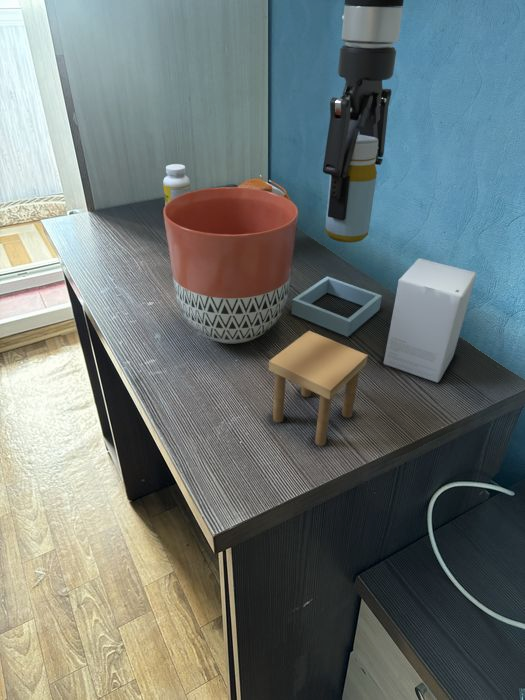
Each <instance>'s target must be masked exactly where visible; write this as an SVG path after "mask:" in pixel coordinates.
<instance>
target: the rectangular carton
mask: <svg viewBox="0 0 525 700" xmlns="http://www.w3.org/2000/svg"><path fill="white" fill-rule="evenodd" d="M477 274H478V273H477V272H476V271H472V270H468V269H464V268H460V267H456V266H452V265H448V264H444V263H439V262H435V261H432V260H428V259H424V258H420V257H419V258H417V259H416V260H415V262H414V263H413V264H412V265H411V266H410V267H409V268H408V270H406V271H405V273H404V274H402V276H401V277H400V278H399V279H398V280H397V288H396V292H395V293H396V294H395V300H394V304H393V310H392V316H391V320H390V326H389V332H388V337H387V342H386V346H385V347H386V348H385V354H384V358H383V365H385V366H388V367H391V368H394V369H397V370H400V371H403V372H406V373H408V374H411V375H414V376H417V377H420V378H423V379H426V380H428V381H432V382H434V383H439V382H440V381H441V379H442V377H443V375H444V374H445V372H446V370H447V369H448V367H449V365H450V363H451V361H452V360H453V357H454V355H455V351H456V349H457V345H458V341H459V338H460V335H461V330H462V327H463V323H464V320H465V317H466V313H467V309H468V305H469V301H470V298H471V295H472V291H473V287H474V286H475V285H474V284H475V281H476V277H477Z"/></svg>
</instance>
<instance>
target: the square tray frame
mask: <svg viewBox="0 0 525 700" xmlns="http://www.w3.org/2000/svg"><path fill="white" fill-rule="evenodd" d="M326 294H330V295H332V296H335V297H338V298H341V299H343V300H345V301H349V302H352V303H354V304H356V305H359V306H362V307H360V308H359V309H358V310H356V311H355V312H354V313H353V314H352V315H350V316H349V317H345V316H342V315H340V314H338V313H334V312H332V311H330V310H327V309H324V308H322V307H320V306H317V305H314V304H313V303H315V302H316V301H317V300H319V299H320V298H322V297H324V296H325V295H326ZM382 297H383V295H381V294H379V293H376V292H373V291H370V290H368V289H364V288H362V287H359V286H356V285H353V284H350V283H347V282H344V281H341V280H339V279H337V278H333V277H331V276H325V277H324V278H322V279H321V280H319V281H318V282H316V283H315V284H313V285H312V286H310V287H309V288H307V289H306V290H304V291H303V292H301V293H300V294H299V295H296V296H295V297H294V298H293V299H292V300H291V303H292V304H291V315H293V316H295V317H298V318H300V319H303V320H305V321H308V322H310V323H313V324H314V325H318V326H319V327H322V328H325V329H327V330H330V331H332V332H334V333H337V334H339V335H342V336H344V337H347V338H349V336H351V335H352V334H354V332H355V331H357V330H358V329H359V328H360V327H361V326H363V324H365V323H366V322H367V321H368V320H369V319H370V318H371V317H373V316H374V315H375V314H376V313H378V312H379V311H380V309H381V304H382Z"/></svg>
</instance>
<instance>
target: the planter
mask: <svg viewBox="0 0 525 700" xmlns="http://www.w3.org/2000/svg"><path fill="white" fill-rule="evenodd" d="M290 200H291V199H290ZM290 200H289V199H287V198H285V197H283V196H281V195H278V194H275V193H272V192H268V191H263V190H258V189H250V188H238V187H237V186H236V187H234V186H230V187H229V186H227V187H211V188H210V187H209V188H203V189H198V190H193V191H190V192H189V193H185V194H182V195H180V196H178V197H175V198H174V199H172V200H170V201H169V202H168V203H167V204H166V205H165V204H164V205H165V206H164V207H163V210H162V215H163V223H164V230H165V235H166V243H167V250H168V256H169V263H170V264H169V265H170V270H171V276H172V283H173V290H174V294H175V298H176V301H177V304H178V307H179V309H180V311H181V313H182V315H183V317H184V319H185V320H186V322H187V323H188V324H189V325H190V326H191V327H192V328H193V329H194V330H195V331H196V332H198V333H199V334H200V335H202V336H203V337H205V338H208V339H209V340H212V341H214V342H217V343H221V344H233V345H234V344H235V345H236V344H242V343H247V342H250V341H252V340H255V339H257V338H259V337H261V336H262V335H264V334H265V333H267V332H268V331H269V330H270V329H271V328H273V326H275V325H276V323H277V322H278V320H279V319H280V317H281V315H282V314H283V311H284V309H285V305H286V303H287V301H288V296H289V292H290V287H291V286H290V285H291V277H292V270H293V263H294V254H295V246H296V245H295V243H296V237H297V230H298V222H299V220H298V219H299V208H298V207H297V205H296V204H295V203H294V202H293V201H292V200H291V201H290Z"/></svg>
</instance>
